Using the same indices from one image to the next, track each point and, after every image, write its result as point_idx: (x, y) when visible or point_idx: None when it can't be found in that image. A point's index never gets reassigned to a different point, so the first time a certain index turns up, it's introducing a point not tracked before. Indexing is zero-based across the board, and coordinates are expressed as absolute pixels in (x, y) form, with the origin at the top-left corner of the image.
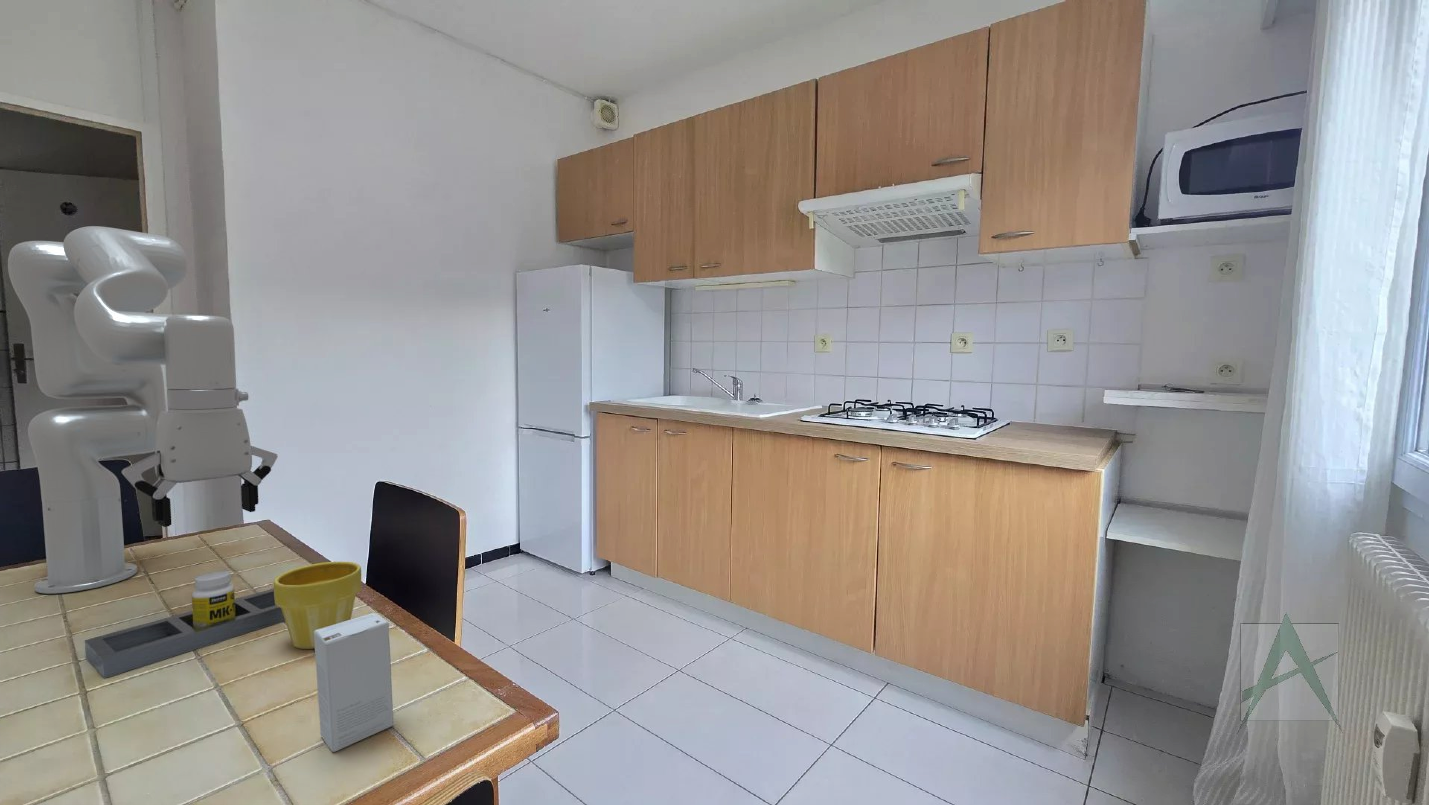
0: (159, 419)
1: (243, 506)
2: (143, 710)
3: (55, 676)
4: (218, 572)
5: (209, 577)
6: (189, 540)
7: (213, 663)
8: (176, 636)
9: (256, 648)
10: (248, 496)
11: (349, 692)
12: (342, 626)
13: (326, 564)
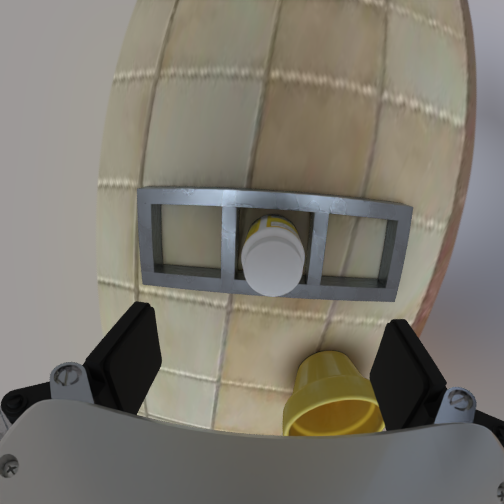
0: None
1: (386, 341)
2: (168, 369)
3: (121, 219)
4: (288, 258)
5: (263, 279)
6: None
7: (232, 337)
8: (211, 286)
9: (276, 339)
10: (382, 414)
11: None
12: None
13: (374, 403)
